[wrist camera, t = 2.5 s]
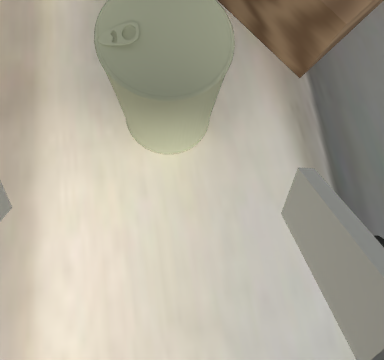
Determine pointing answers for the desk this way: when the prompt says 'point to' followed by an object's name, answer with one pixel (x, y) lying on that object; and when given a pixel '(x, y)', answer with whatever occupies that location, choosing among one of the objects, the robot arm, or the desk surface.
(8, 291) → the desk surface
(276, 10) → the walnut block
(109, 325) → the desk surface
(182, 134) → the can
